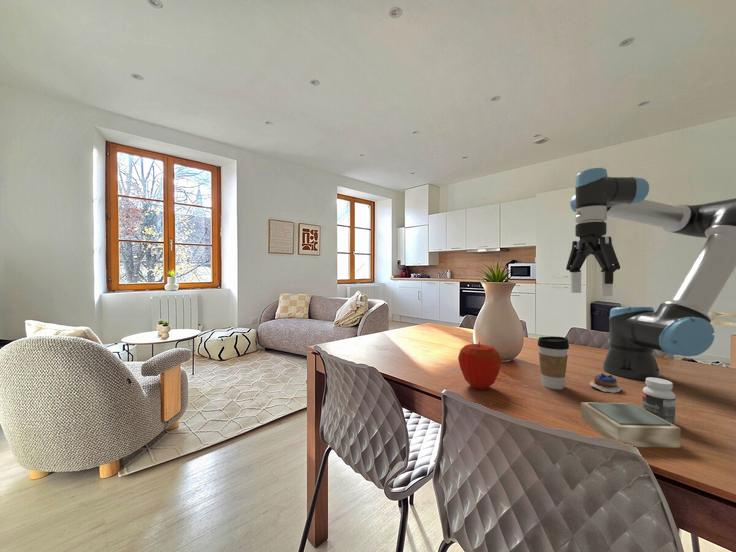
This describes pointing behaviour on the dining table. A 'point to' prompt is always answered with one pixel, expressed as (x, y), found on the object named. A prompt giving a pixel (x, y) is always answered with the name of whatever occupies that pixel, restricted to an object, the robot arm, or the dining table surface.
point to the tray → (630, 424)
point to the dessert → (605, 383)
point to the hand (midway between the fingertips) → (590, 294)
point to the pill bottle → (659, 399)
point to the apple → (479, 365)
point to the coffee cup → (553, 361)
